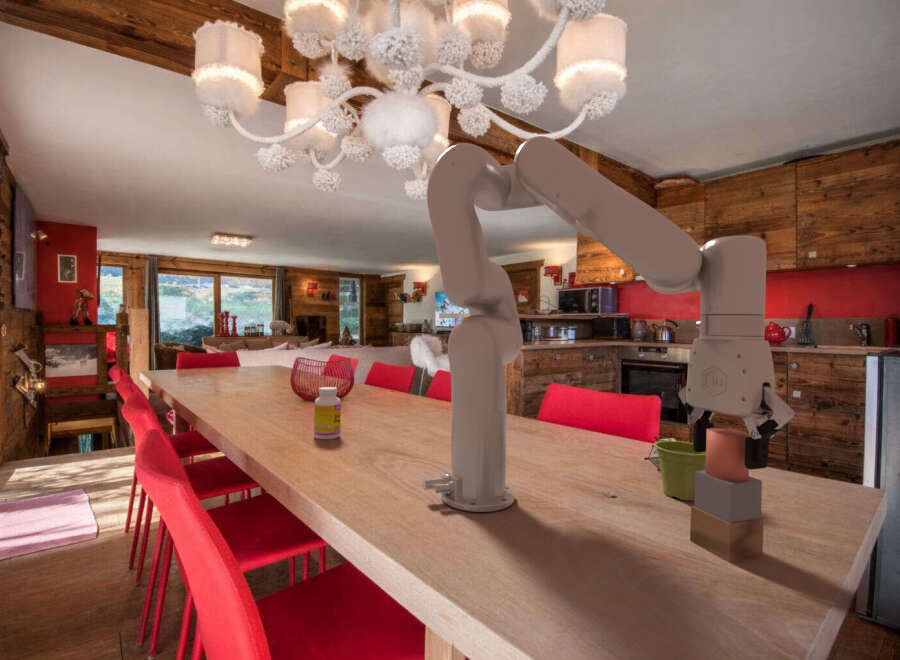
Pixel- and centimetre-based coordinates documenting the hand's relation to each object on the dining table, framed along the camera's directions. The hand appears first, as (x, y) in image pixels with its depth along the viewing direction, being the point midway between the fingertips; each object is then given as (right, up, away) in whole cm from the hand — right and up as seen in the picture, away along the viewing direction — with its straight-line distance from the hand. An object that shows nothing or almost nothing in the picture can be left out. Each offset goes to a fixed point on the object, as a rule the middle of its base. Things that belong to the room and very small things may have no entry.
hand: (728, 458), depth 61 cm
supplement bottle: (-70, -11, +57) cm, 91 cm away
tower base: (0, -12, 0) cm, 12 cm away
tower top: (0, -7, 0) cm, 7 cm away
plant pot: (+4, -12, +19) cm, 23 cm away
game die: (+7, -12, +30) cm, 33 cm away
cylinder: (0, -2, 0) cm, 2 cm away
